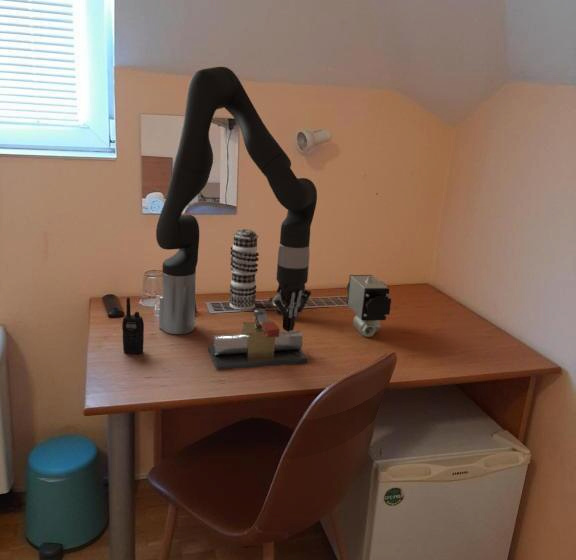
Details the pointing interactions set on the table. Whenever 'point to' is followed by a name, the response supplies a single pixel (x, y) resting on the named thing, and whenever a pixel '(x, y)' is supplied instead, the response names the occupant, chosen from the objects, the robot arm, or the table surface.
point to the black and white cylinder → (243, 270)
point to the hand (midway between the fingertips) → (288, 329)
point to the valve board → (258, 360)
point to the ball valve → (368, 302)
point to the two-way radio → (132, 331)
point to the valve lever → (266, 323)
